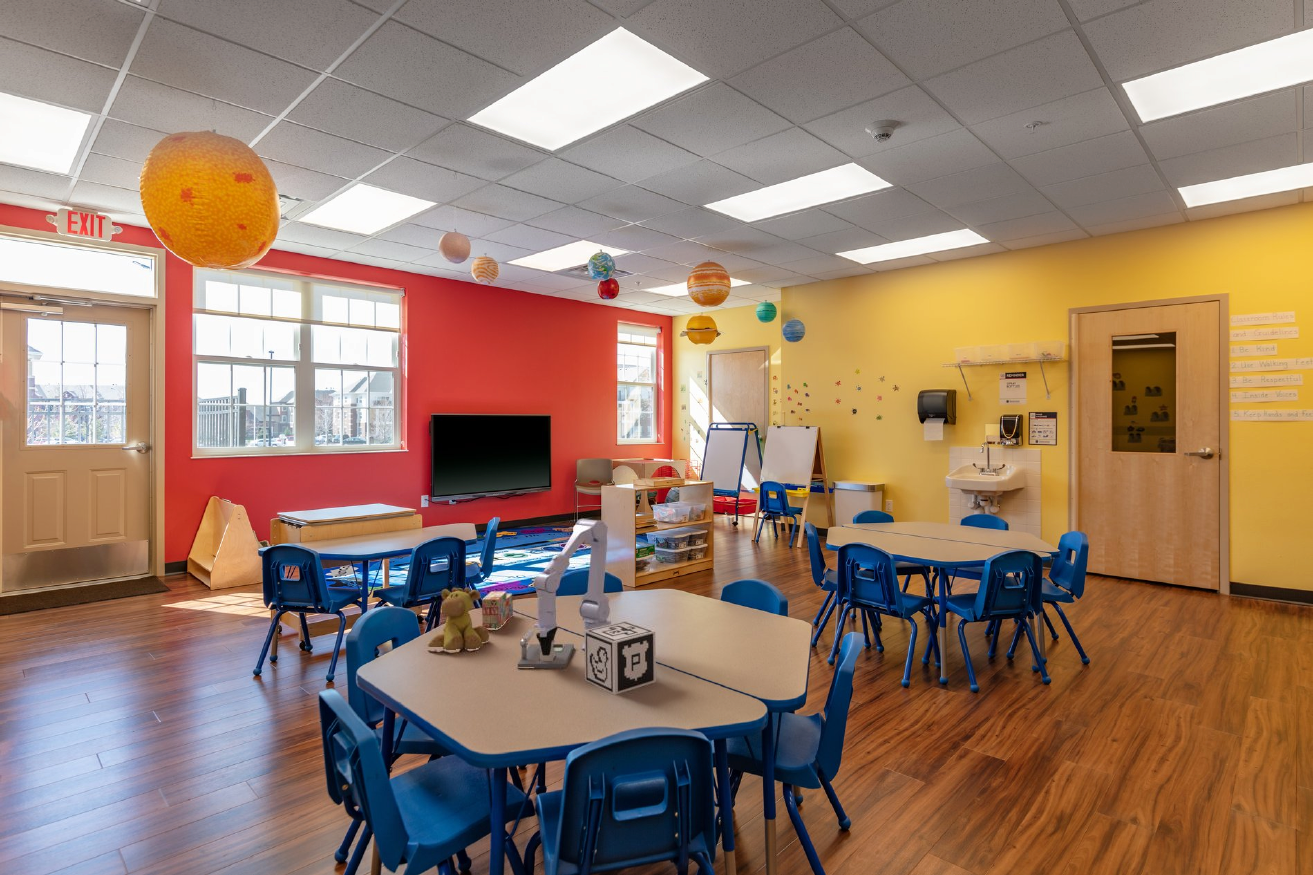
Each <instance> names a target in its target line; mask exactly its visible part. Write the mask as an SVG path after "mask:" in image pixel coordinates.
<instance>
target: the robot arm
mask: <svg viewBox="0 0 1313 875" xmlns="http://www.w3.org/2000/svg"><path fill="white" fill-rule="evenodd" d="M572 529H573V532H572V535H571V536H570V537H569V538H568V541H567V542H566V544H565V545H564V547H563V549H562V551H561V552H560V553H557V554H555V555H553V557H552V558H551V560H550V562H548V564H547V566H546V567H545V569H543V571H542V572H540V573H538V574H537V575H536V576H535V579H534V581H533V583H532V585H533V586H534V589H535V591H536V595H537V623H534V627H533V628H537V629H538V630H539V632H536V635H535V636H536V639H537V640H538V642H539V643H538V644H540V646H541V650H542V654H543V656H548V655H550V650H551V643H552V640H555V636H556V634H557V631H558V629H559V628H558V625H557V604H556V602H557V601H556V596H557V594H556V593H557V592H556V591H557V590H558V589H559V587H560V582H561V580H562V577H563V575H564V573H565V572H566V571H567V570H568V568H569V566H570V565H571V564H570V559H571V558H572V556H573V555H574V554H575V553H576V552H577V550H579V548H580V546H581V545H582V544H584V543H587V544H588V545H590V558H589V570H588V571H589V572H588V581H587V591H586V593H584V594H583V595H581V602H580V603H579V607H578V608H579V609H578V612H579V613H578V614H579V615H580V616H581V617H582V621H583V629H584V631H583V636H584V637H583V645H582V647H581V650H585V630H588V629H593V628H597V627H601V626H606V625H610V624H612V621H611V620H607V619H608V618H609V617H610V612H611V611H610V610H611V609H610V604H609V602H610V600H609V598H608V597H607V595H606V594H605V593H604V588H605V576H606V565H607V564H606V563H607V552H608V525H607V524H606V523H605V522H604V521H603V520H596V519H586V518H580V519H578V520H577V522H576V523H575V525H573V528H572Z"/></svg>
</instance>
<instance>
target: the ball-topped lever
mask: <svg viewBox="0 0 1313 875" xmlns="http://www.w3.org/2000/svg"><path fill="white" fill-rule="evenodd" d="M534 634H535V627H530V628H528V629H527V631H526V632H525V634H524V635H523V637H522V638H521V639H520V640H519V645H520V647H521V646H526V645H527V646H528V643H529V642H530V640H531V638H532V637H533V635H534Z"/></svg>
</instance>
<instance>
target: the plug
mask: <svg viewBox="0 0 1313 875" xmlns="http://www.w3.org/2000/svg"><path fill="white" fill-rule="evenodd" d="M563 644H564V643H555V639H554V640H552V643H551V650H550V655H548V656H543V654H542V650H541V646H540V661H553V660H554V657H555V648H563Z"/></svg>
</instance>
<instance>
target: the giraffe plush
mask: <svg viewBox="0 0 1313 875" xmlns="http://www.w3.org/2000/svg"><path fill="white" fill-rule="evenodd" d="M441 598H442V603H441V605H440V606H441V607H440V610H441V611H440V612H441V614H442V615H443V616H444V617H446V620H445V625H444V627H443V628H442V630H443V631H442V633H440V634H436V635H435V636H434V637H433V638H432V639H431V640H430V641H429V642H428V644H427V647H428V646H429V647H443V649H446V650H456V649H461V650H462V649H463V648H464V649H465V648H466V649H476V648H479V647H481V648H482V646H483V644H482V642H486V641H489V638H490V634H489V631H488V629H487V628H486V627H484V626H482V625H478V626H475V627H474V626H473V621H472V618H471V615H470V613H469V612H470V611H471V609H472V607H473V605H474V601H478V600H480V599H481V593H480V592H479V591H478V590H477V589H473V590H471V588H470V587H467V586H466V587H465V588H464V589H463V588H461V587H460V588H457V587H453V588H452V589H451V591H450V590H448V589H447V588H445V589H442V591H441Z"/></svg>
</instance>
